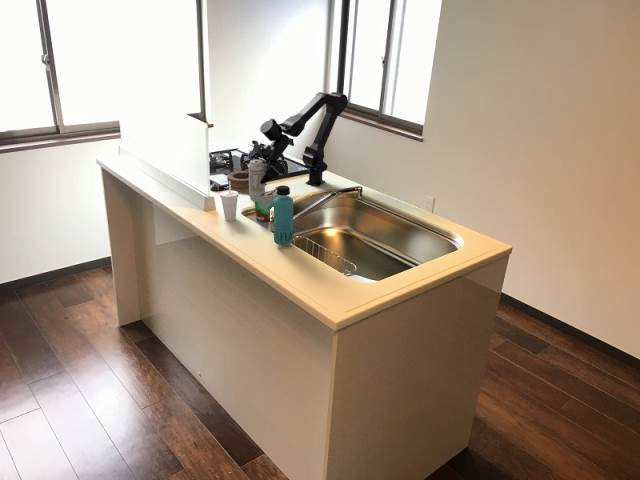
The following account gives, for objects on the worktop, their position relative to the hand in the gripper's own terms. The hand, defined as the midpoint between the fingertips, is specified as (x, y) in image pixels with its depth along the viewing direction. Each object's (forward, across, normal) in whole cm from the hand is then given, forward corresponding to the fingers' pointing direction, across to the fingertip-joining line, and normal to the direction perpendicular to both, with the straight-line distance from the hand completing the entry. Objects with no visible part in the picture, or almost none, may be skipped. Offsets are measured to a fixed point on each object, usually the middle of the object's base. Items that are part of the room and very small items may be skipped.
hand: (254, 180), depth 204 cm
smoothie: (+18, +11, -7) cm, 23 cm away
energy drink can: (+5, 0, +6) cm, 8 cm away
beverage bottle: (+16, +40, -5) cm, 43 cm away
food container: (+10, +20, +1) cm, 22 cm away
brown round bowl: (+2, -15, +8) cm, 17 cm away
